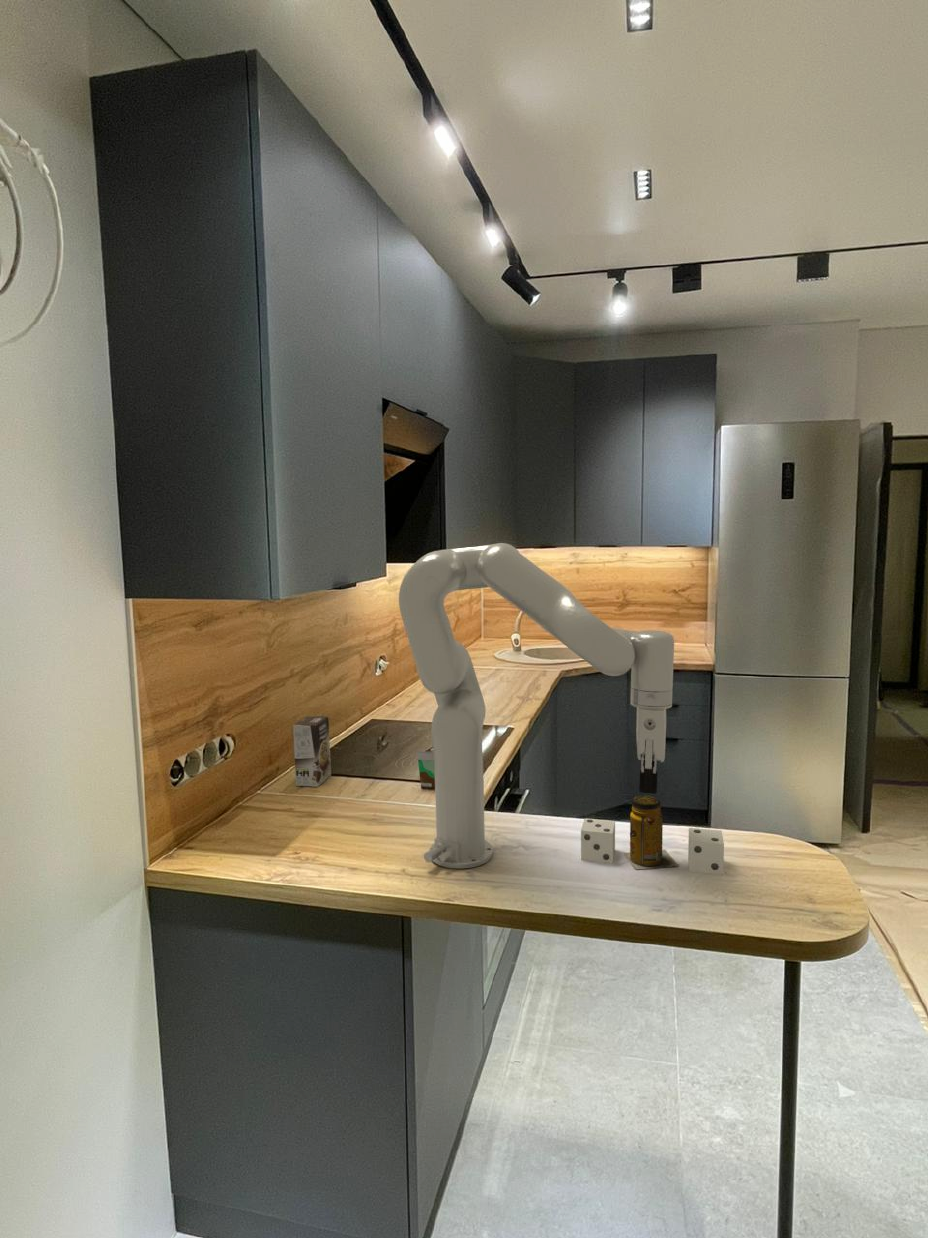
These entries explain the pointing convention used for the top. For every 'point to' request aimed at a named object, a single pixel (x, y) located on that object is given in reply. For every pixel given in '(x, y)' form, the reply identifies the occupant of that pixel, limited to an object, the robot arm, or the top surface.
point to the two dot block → (706, 851)
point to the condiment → (647, 835)
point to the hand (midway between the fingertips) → (648, 791)
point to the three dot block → (598, 840)
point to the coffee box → (312, 751)
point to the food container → (426, 768)
